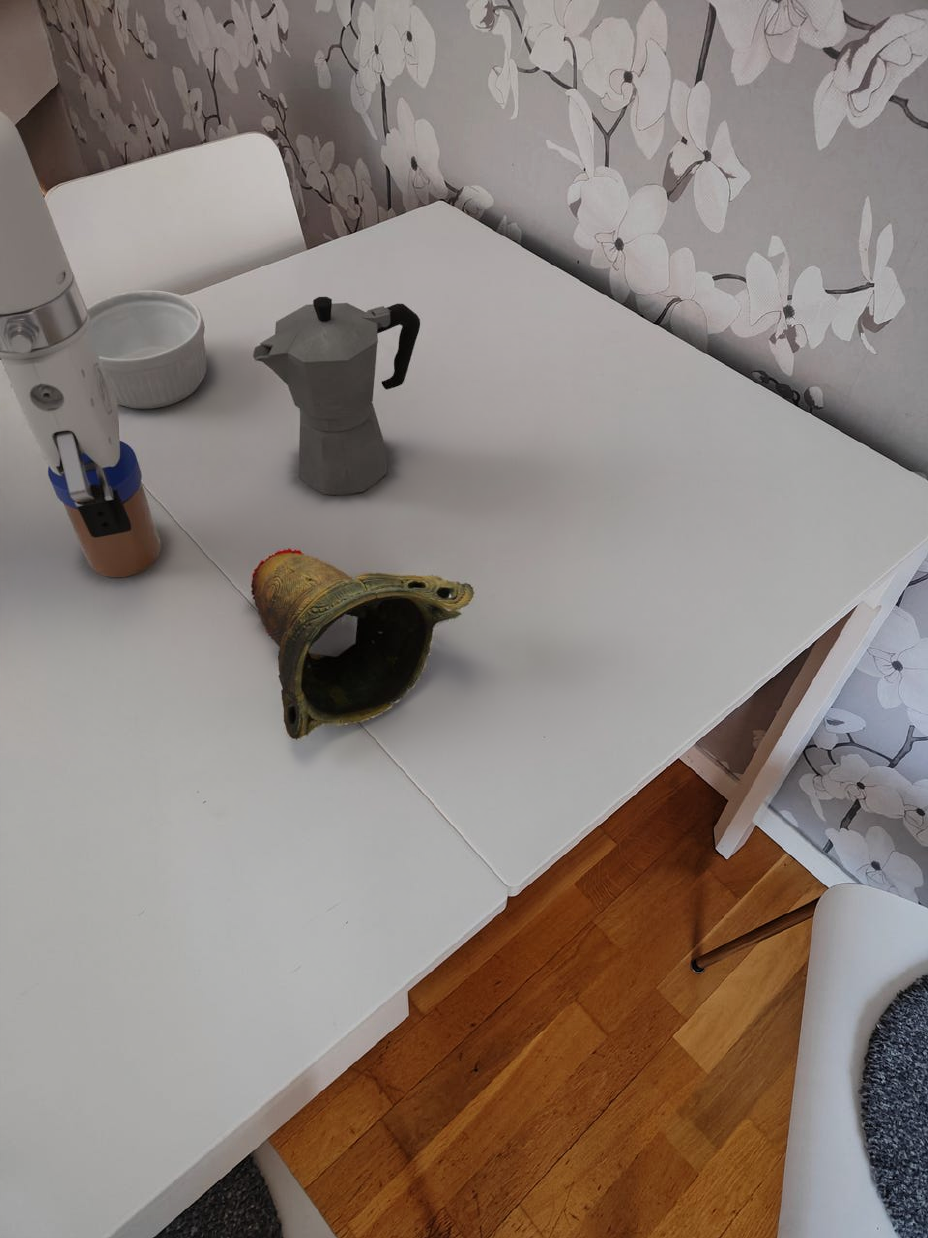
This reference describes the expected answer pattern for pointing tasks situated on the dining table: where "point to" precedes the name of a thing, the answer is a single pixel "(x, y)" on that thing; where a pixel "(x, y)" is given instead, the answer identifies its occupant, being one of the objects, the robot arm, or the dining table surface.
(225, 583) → the dining table surface
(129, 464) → the lid
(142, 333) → the ramekin
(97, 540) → the jar
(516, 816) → the dining table surface
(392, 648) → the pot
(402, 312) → the coffeepot
